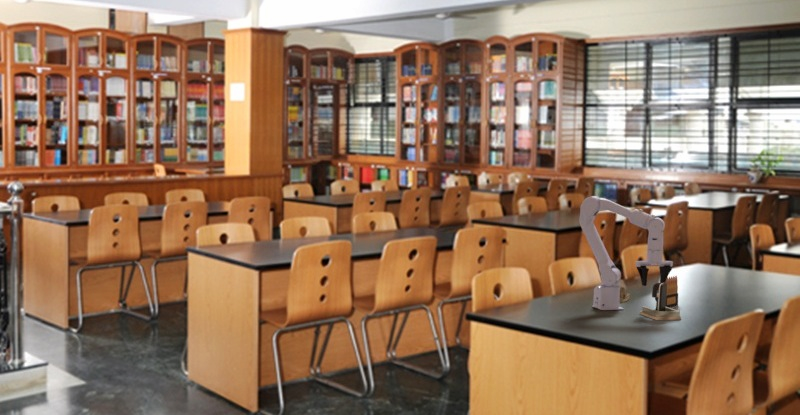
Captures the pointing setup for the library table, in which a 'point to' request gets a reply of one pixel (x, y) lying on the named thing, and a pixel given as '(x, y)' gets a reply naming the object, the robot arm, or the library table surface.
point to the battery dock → (661, 313)
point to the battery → (660, 295)
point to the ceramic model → (623, 292)
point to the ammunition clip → (672, 292)
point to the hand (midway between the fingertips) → (653, 285)
